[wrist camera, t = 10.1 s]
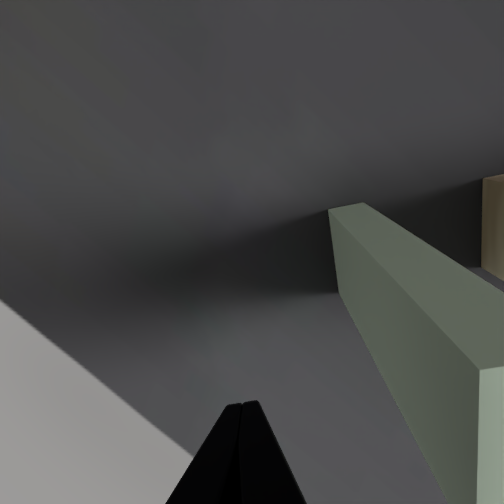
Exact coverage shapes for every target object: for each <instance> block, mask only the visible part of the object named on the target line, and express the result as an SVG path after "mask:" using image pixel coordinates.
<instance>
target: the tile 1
mask: <svg viewBox="0 0 504 504" xmlns="http://www.w3.org/2000/svg"><path fill="white" fill-rule="evenodd" d="M481 268H483V269H485V270H486V271H488V272H490V273H491V274H493V275H495V276H496V277H498V278H500V279H501V280H503V281H504V174H502V175H497V176H492V177H487V178H483V193H482V247H481Z"/></svg>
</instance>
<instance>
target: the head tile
mask: <svg viewBox="0 0 504 504" xmlns="http://www.w3.org/2000/svg"><path fill="white" fill-rule="evenodd" d="M328 214H329V222H330V229H331V237H332V244H333V252H334V260H335V267H336V275H337V282H338V290H339V294H340V296H341V298H342V300H343V302H344V304H345V306H346V308H347V310H348V312H349V314H350V315H351V317H352V319H353V321H354V323H355V325H356V327H357V329H358V331H359V333H360V335H361V337H362V339H363V340H364V342H365V344H366V346H367V348H368V350H369V352H370V354H371V356H372V358H373V360H374V362H375V364H376V365H377V367H378V369H379V371H380V373H381V375H382V377H383V379H384V381H385V383H386V385H387V387H388V389H389V391H390V392H391V394H392V396H393V398H394V400H395V402H396V404H397V406H398V408H399V410H400V412H401V414H402V416H403V417H404V419H405V421H406V423H407V425H408V427H409V429H410V431H411V433H412V435H413V437H414V439H415V441H416V442H417V444H418V446H419V448H420V450H421V452H422V454H423V456H424V458H425V460H426V462H427V464H428V466H429V467H430V469H431V471H432V473H433V475H434V477H435V479H436V481H437V483H438V485H439V487H440V489H441V491H442V492H443V494H444V496H445V498H446V500H447V502H448V504H504V293H503V292H502V291H500V290H499V289H497V288H496V287H494V286H493V285H491V284H489V283H488V282H486V281H485V280H483V279H482V278H480V277H479V276H477V275H475V274H474V273H472V272H471V271H469V270H468V269H466V268H465V267H463V266H462V265H460V264H458V263H457V262H455V261H454V260H452V259H451V258H449V257H448V256H446V255H444V254H443V253H441V252H440V251H438V250H437V249H435V248H434V247H432V246H431V245H429V244H427V243H426V242H424V241H423V240H421V239H420V238H418V237H417V236H415V235H413V234H412V233H410V232H409V231H407V230H406V229H404V228H403V227H401V226H400V225H398V224H396V223H395V222H393V221H392V220H390V219H389V218H387V217H386V216H384V215H382V214H381V213H379V212H378V211H376V210H375V209H373V208H372V207H370V206H368V205H367V204H365V203H364V202H363V203H358V204H352V205H347V206H342V207H337V208H332V209H328Z"/></svg>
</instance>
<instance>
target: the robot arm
mask: <svg viewBox="0 0 504 504" xmlns="http://www.w3.org/2000/svg"><path fill="white" fill-rule="evenodd" d="M165 504H307V503H306V501H305V499H304V497H303V495H302V492H301V490H300V488H299V486H298V484H297V482H296V480H295V478H294V475H293V473H292V471H291V469H290V467H289V465H288V463H287V461H286V458H285V456H284V454H283V452H282V450H281V448H280V446H279V444H278V441H277V439H276V437H275V435H274V433H273V431H272V429H271V427H270V424H269V422H268V420H267V418H266V416H265V414H264V412H263V410H262V407H261V405H260V403H259V402H258V401H257V400H254V401H248V402H244V403H243V404H242V403H236V404H229V405H227V406H226V407H225V409H224V410H223V412H222V413H221V415H220V417H219V418H218V420H217V422H216V423H215V425H214V426H213V428H212V430H211V431H210V433H209V434H208V436H207V438H206V439H205V441H204V442H203V444H202V446H201V447H200V449H199V450H198V452H197V454H196V455H195V457H194V458H193V460H192V462H191V463H190V465H189V467H188V468H187V470H186V471H185V473H184V475H183V476H182V478H181V479H180V481H179V483H178V484H177V486H176V488H175V489H174V491H173V492H172V494H171V495H170V497H169V499H168V500H167V502H166V503H165Z"/></svg>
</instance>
